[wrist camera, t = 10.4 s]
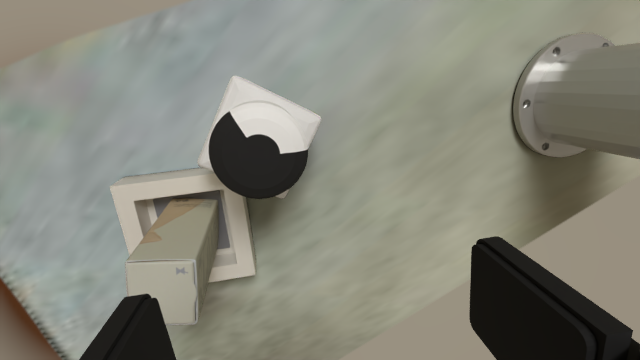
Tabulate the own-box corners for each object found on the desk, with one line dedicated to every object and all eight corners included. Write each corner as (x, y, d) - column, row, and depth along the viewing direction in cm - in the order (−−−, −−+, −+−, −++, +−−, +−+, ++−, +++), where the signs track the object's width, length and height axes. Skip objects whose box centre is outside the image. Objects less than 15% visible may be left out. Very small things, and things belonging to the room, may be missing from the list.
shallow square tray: (240, 162, 31) (237, 170, 28) (256, 259, 34) (255, 274, 32) (124, 177, 30) (109, 186, 27) (151, 276, 33) (141, 294, 30)
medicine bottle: (280, 177, 32) (289, 226, 21) (210, 148, 31) (178, 185, 19) (310, 110, 31) (337, 125, 20) (239, 76, 29) (223, 70, 18)
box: (171, 197, 30) (122, 256, 20) (219, 198, 31) (197, 256, 21) (173, 248, 32) (128, 329, 21) (219, 248, 32) (197, 326, 22)
